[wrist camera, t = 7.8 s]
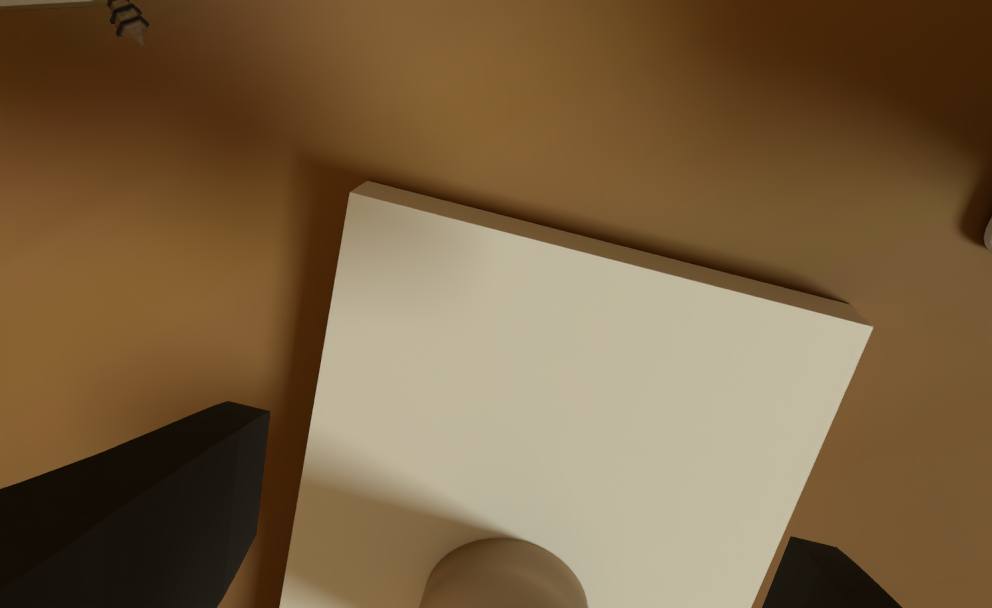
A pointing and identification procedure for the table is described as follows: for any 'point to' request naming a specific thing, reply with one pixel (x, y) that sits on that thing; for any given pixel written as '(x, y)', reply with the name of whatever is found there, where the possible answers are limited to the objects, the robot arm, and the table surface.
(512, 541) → the oak cylinder
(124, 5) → the game die
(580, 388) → the ceramic tile
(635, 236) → the table surface
